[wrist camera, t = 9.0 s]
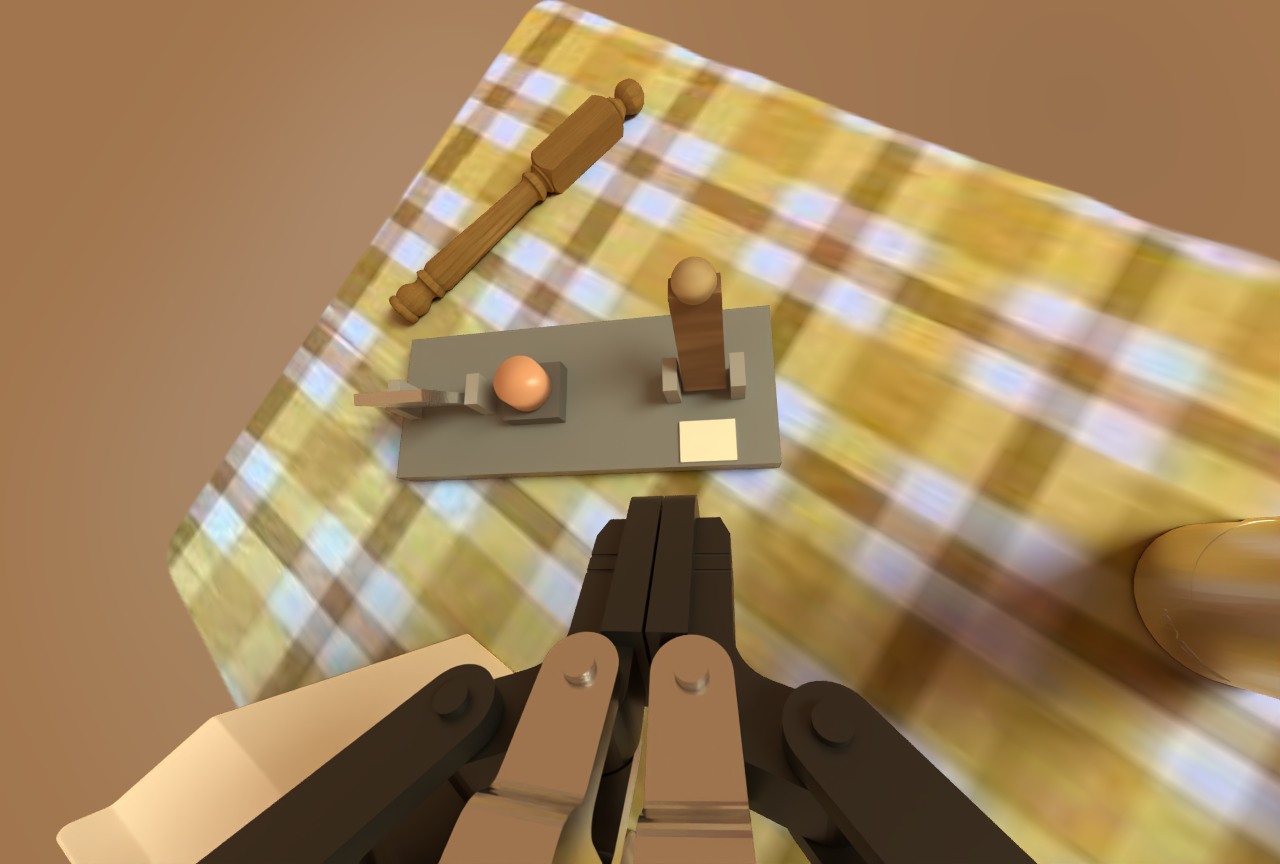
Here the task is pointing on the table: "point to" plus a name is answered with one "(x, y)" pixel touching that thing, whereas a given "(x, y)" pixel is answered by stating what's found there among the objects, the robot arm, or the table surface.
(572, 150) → the turned wooden table leg
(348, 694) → the milk
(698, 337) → the walnut lever
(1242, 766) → the table surface
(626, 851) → the coffee box
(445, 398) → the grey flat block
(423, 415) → the control panel
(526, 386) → the terracotta button
